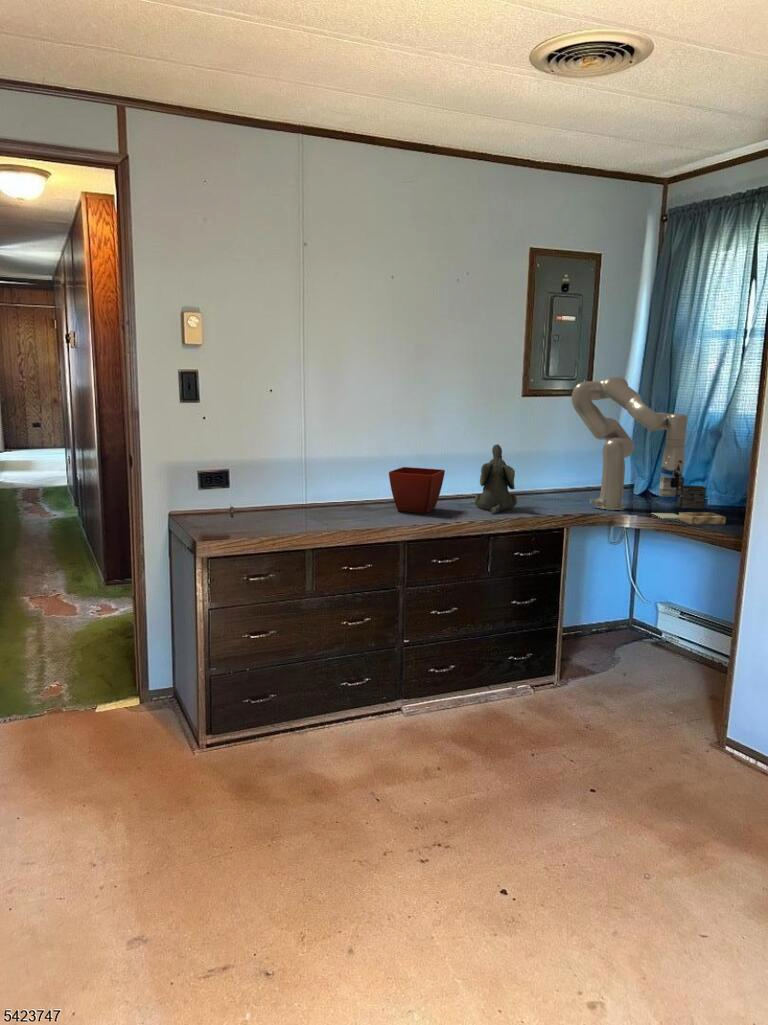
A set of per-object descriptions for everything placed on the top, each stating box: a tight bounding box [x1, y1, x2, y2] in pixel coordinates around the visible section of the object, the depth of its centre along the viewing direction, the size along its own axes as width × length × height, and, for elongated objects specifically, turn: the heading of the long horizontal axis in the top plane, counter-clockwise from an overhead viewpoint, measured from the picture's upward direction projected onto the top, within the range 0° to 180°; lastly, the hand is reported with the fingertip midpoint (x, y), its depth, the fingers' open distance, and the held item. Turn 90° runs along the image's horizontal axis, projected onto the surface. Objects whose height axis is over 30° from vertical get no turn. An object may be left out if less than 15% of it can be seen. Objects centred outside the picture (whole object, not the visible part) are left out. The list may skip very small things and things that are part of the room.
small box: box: [676, 484, 707, 511], centre depth 346 cm, size 11×6×10 cm, turn 84°
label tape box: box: [658, 466, 685, 498], centre depth 322 cm, size 9×4×12 cm, turn 93°
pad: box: [650, 512, 679, 520], centre depth 325 cm, size 10×10×1 cm
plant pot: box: [388, 466, 446, 514], centre depth 320 cm, size 19×19×17 cm
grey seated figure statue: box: [474, 443, 518, 514], centre depth 329 cm, size 19×21×27 cm
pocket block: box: [677, 511, 727, 525], centre depth 315 cm, size 15×10×3 cm, turn 99°
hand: (671, 486), depth 322 cm, fingers closed on label tape box, 4 cm apart
